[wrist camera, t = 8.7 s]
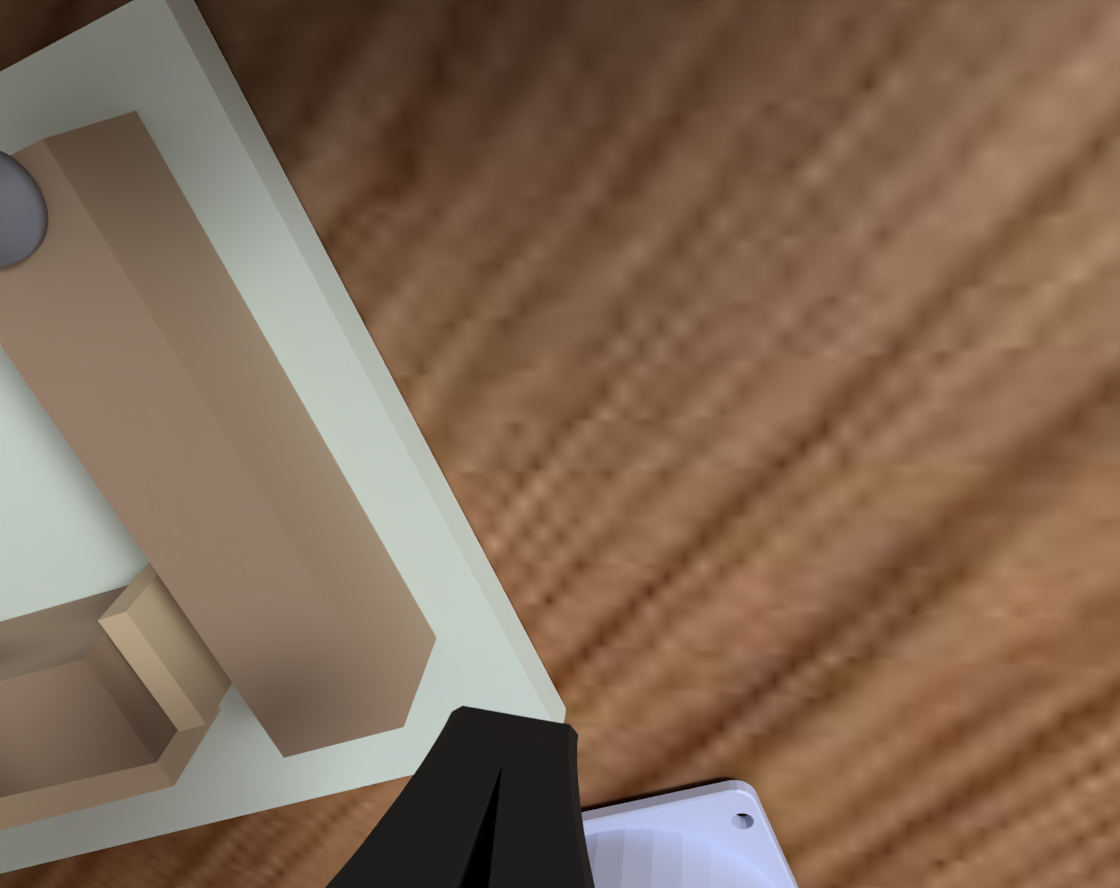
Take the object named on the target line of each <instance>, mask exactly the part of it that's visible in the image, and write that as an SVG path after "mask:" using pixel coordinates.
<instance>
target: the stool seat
mask: <svg viewBox="0 0 1120 888" xmlns="http://www.w3.org/2000/svg"><path fill="white" fill-rule="evenodd" d="M127 585H129V586H128V587H127V588H126V589H125V590H124V591H123V592H122V594H121V595H120V596H119V597H118V598H117V599H116V600H115V602H114V603H113V604H112V605H111V606H110V607H109V608H108V610H107V611H106V612H105V613H104V614H103V615H102V616H101V618H100V619H99V620H98V622H99V623H100V624H101V626H102V627H103V628H104V630H105V631H106V633H107V634H108V635H109V637H110V638H111V639H112V641H113V642H114V644H115V645H116V646H117V648H118V649H119V650H120V652H121V653H122V654H123V656H124V657H125V659H126V660H127V661H128V663H129V664H130V665H131V667H132V668H133V670H134V671H135V672H136V674H137V675H138V676H139V678H140V679H141V680H142V682H143V683H144V685H145V686H146V687H147V689H148V690H149V691H150V693H151V694H152V696H153V697H154V698H155V700H156V701H157V702H158V704H159V705H160V706H161V708H162V709H163V711H164V712H165V713H166V715H167V716H168V717H169V719H170V720H171V722H172V723H173V724H174V726H175V727H176V728H177V730H178V731H177V732H176V734H175V735H174V737H173V738H172V740H171V741H170V743H169V744H168V746H167V747H166V749H165V750H164V752H163V753H162V755H161V756H160V758H159V760H158V761H157V763H152V764H148V765H144V766H139V767H135V768H130V769H126V770H121V771H117V772H112V773H108V774H103V775H99V776H94V777H90V778H86V779H81V780H77V781H72V782H68V783H63V784H59V785H54V786H50V787H45V788H41V789H36V790H32V791H28V792H23V793H19V794H14V795H10V796H5V797H1V798H0V874H1V873H5V872H9V871H14V870H18V869H22V868H26V867H30V866H34V865H38V864H43V863H47V862H51V861H55V860H59V859H63V858H68V857H72V856H76V855H80V854H84V853H88V852H93V851H97V850H101V849H105V848H109V847H113V846H118V845H122V844H126V843H130V842H134V841H138V840H142V839H147V838H151V837H155V836H159V835H163V834H167V833H172V832H176V831H180V830H184V829H188V828H192V827H197V826H201V825H205V824H209V823H213V822H217V821H221V820H226V819H230V818H234V817H238V816H242V815H246V814H251V813H255V812H259V811H263V810H267V809H271V808H276V807H280V806H284V805H288V804H292V803H296V802H301V801H305V800H309V799H313V798H317V797H321V796H325V795H330V794H334V793H338V792H342V791H346V790H350V789H355V788H359V787H363V786H367V785H371V784H375V783H380V782H384V781H388V780H392V779H396V778H400V777H404V776H409V775H413V774H415V772H416V771H417V769H418V768H419V766H420V765H421V763H422V762H423V760H424V759H425V757H426V756H427V754H428V752H429V751H430V749H431V748H432V746H433V744H434V743H435V741H436V739H437V738H438V736H439V734H440V733H441V731H442V729H443V727H444V726H445V724H446V722H447V720H448V718H449V716H450V714H451V712H452V711H454V710H456V709H457V708H459V707H461V706H468V707H473V708H479V709H485V710H490V711H496V712H502V713H507V714H513V715H519V716H524V717H530V718H536V719H541V720H547V721H553V722H558V723H564V718H565V712H566V708H565V706H564V704H563V702H562V700H561V698H560V697H559V695H558V693H557V691H556V689H555V687H554V685H553V683H552V681H551V679H550V678H549V676H548V674H547V672H546V670H545V668H544V666H543V664H542V662H541V660H540V658H539V657H538V655H537V653H536V651H535V649H534V647H533V645H532V643H531V641H530V639H529V638H528V636H527V634H526V632H525V630H524V628H523V626H522V624H521V622H520V620H519V618H518V617H517V615H516V613H515V611H514V609H513V607H512V605H511V603H510V601H509V599H508V598H507V596H506V594H505V592H504V590H503V588H502V586H501V584H500V582H499V580H498V578H497V577H496V575H495V573H494V571H493V569H492V567H491V565H490V563H489V561H488V559H487V558H486V556H485V554H484V552H483V550H482V548H481V546H480V544H479V542H478V540H477V538H476V537H475V535H474V533H473V531H472V529H471V527H470V525H469V523H468V521H467V519H466V518H465V516H464V514H463V512H462V510H461V508H460V506H459V504H458V502H457V500H456V498H455V497H454V495H453V493H452V491H451V489H450V487H449V485H448V483H447V481H446V479H445V478H444V476H443V474H442V472H441V470H440V468H439V466H438V464H437V462H436V460H435V458H434V457H433V455H432V453H431V451H430V449H429V447H428V445H427V443H426V441H425V439H424V438H423V436H422V434H421V432H420V430H419V428H418V426H417V424H416V422H415V420H414V418H413V417H412V415H411V413H410V411H409V409H408V407H407V405H406V403H405V401H404V399H403V398H402V396H401V394H400V392H399V390H398V388H397V386H396V384H395V382H394V380H393V378H392V377H391V375H390V373H389V371H388V369H387V367H386V365H385V363H384V361H383V359H382V358H381V356H380V354H379V352H378V350H377V348H376V346H375V344H374V342H373V340H372V338H371V337H370V335H369V333H368V331H367V329H366V327H365V325H364V323H363V321H362V319H361V318H360V316H359V314H358V312H357V310H356V308H355V306H354V304H353V302H352V300H351V298H350V297H349V295H348V293H347V291H346V289H345V287H344V285H343V283H342V281H341V279H340V278H339V276H338V274H337V272H336V270H335V268H334V266H333V264H332V262H331V260H330V258H329V257H328V255H327V253H326V251H325V249H324V247H323V245H322V243H321V241H320V239H319V238H318V236H317V234H316V232H315V230H314V228H313V226H312V224H311V222H310V220H309V218H308V217H307V215H306V213H305V211H304V209H303V207H302V205H301V203H300V201H299V199H298V198H297V196H296V194H295V192H294V190H293V188H292V186H291V184H290V182H289V180H288V178H287V177H286V175H285V173H284V171H283V169H282V167H281V165H280V163H279V161H278V159H277V158H276V156H275V154H274V152H273V150H272V148H271V146H270V144H269V142H268V140H267V138H266V137H265V135H264V133H263V131H262V129H261V127H260V125H259V123H258V121H257V119H256V118H255V116H254V114H253V112H252V110H251V108H250V106H249V104H248V102H247V100H246V98H245V97H244V95H243V93H242V91H241V89H240V87H239V85H238V83H237V81H236V79H235V78H234V76H233V74H232V72H231V70H230V68H229V66H228V64H227V62H226V60H225V58H224V57H223V55H222V53H221V51H220V49H219V47H218V45H217V43H216V41H215V39H214V38H213V36H212V34H211V32H210V30H209V28H208V26H207V24H206V22H205V20H204V18H203V17H202V15H201V13H200V11H199V9H198V7H197V5H196V3H195V1H194V0H133V1H131V2H129V3H127V4H125V5H124V6H122V7H120V8H118V9H116V10H114V11H112V12H111V13H109V14H107V15H105V16H103V17H101V18H99V19H97V20H96V21H94V22H92V23H90V24H88V25H86V26H84V27H83V28H81V29H79V30H77V31H75V32H73V33H71V34H70V35H68V36H66V37H64V38H62V39H60V40H58V41H56V42H55V43H53V44H51V45H49V46H47V47H45V48H43V49H42V50H40V51H38V52H36V53H34V54H32V55H30V56H29V57H27V58H25V59H23V60H21V61H19V62H17V63H16V64H14V65H12V66H10V67H8V68H6V69H4V70H2V71H1V72H0V621H4V620H7V619H11V618H15V617H18V616H22V615H25V614H29V613H32V612H36V611H39V610H43V609H46V608H50V607H53V606H57V605H60V604H64V603H67V602H71V601H74V600H78V599H81V598H85V597H88V596H92V595H96V594H99V593H103V592H106V591H110V590H113V589H117V588H120V587H124V586H127Z"/></svg>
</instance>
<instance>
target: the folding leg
mask: <svg viewBox="0 0 1120 888" xmlns="http://www.w3.org/2000/svg"><path fill="white" fill-rule="evenodd" d="M128 586H129V585H127V586H124V587H120V588H117V589H113V590H110V591H106V592H103V593H99V594H96V595H92V596H88V597H85V598H81V599H78V600H74V601H71V602H67V603H64V604H60V605H57V606H53V607H50V608H46V609H43V610H39V611H36V612H32V613H29V614H25V615H22V616H18V617H15V618H11V619H7V620H4V621H0V798H1V797H5V796H10V795H14V794H19V793H23V792H28V791H32V790H36V789H41V788H45V787H50V786H54V785H59V784H63V783H68V782H72V781H77V780H81V779H86V778H90V777H94V776H99V775H103V774H108V773H112V772H117V771H121V770H126V769H130V768H135V767H139V766H144V765H148V764H152V763H157V761H158V760H159V758H160V756H161V755H162V753H163V752H164V750H165V749H166V747H167V746H168V744H169V743H170V741H171V740H172V738H173V737H174V735H175V734H176V732H177V731H178V730H177V728H176V727H175V726H174V724H173V723H172V722H171V720H170V719H169V717H168V716H167V715H166V713H165V712H164V711H163V709H162V708H161V706H160V705H159V704H158V702H157V701H156V700H155V698H154V697H153V696H152V694H151V693H150V691H149V690H148V689H147V687H146V686H145V685H144V683H143V682H142V680H141V679H140V678H139V676H138V675H137V674H136V672H135V671H134V670H133V668H132V667H131V665H130V664H129V663H128V661H127V660H126V659H125V657H124V656H123V654H122V653H121V652H120V650H119V649H118V648H117V646H116V645H115V644H114V642H113V641H112V639H111V638H110V637H109V635H108V634H107V633H106V631H105V630H104V628H103V627H102V626H101V624H100V623H99V622H98V620H99V619H100V618H101V616H102V615H103V614H104V613H105V612H106V611H107V610H108V608H109V607H110V606H111V605H112V604H113V603H114V602H115V600H116V599H117V598H118V597H119V596H120V595H121V594H122V592H123V591H124V590H125V589H126V588H127V587H128Z"/></svg>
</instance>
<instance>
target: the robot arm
mask: <svg viewBox="0 0 1120 888" xmlns="http://www.w3.org/2000/svg"><path fill="white" fill-rule="evenodd" d="M577 740H578V734H577V733H576V731H575V730H574V729H573V728H572V727H571V725H570V724H564V723H558V722H553V721H547V720H541V719H536V718H530V717H524V716H519V715H513V714H507V713H502V712H496V711H490V710H485V709H479V708H473V707H468V706H461V707H459V708H457V709H456V710H454V711H452V712H451V714H450V716H449V718H448V720H447V722H446V724H445V726H444V727H443V729H442V731H441V733H440V734H439V736H438V738H437V739H436V741H435V743H434V744H433V746H432V748H431V749H430V751H429V752H428V754H427V756H426V757H425V759H424V760H423V762H422V763H421V765H420V766H419V768H418V769H417V771H416V772H415V774H414V775H413V776H412V778H411V779H410V781H409V782H408V784H407V785H406V786H405V788H404V789H403V791H402V792H401V794H400V795H399V796H398V798H397V799H396V800H395V802H394V803H393V804H392V806H391V807H390V808H389V810H388V811H387V812H386V813H385V815H384V816H383V817H382V819H381V820H380V821H379V823H378V824H377V825H376V827H375V828H374V829H373V830H372V832H371V833H370V834H369V836H368V837H367V838H366V840H365V841H364V842H363V844H362V845H361V846H360V847H359V849H358V850H357V851H356V852H355V854H354V855H353V856H352V857H351V858H350V860H349V861H348V862H347V863H346V864H345V865H344V867H343V868H342V869H341V870H340V871H339V872H338V874H337V875H336V876H335V877H334V878H333V879H332V881H331V882H330V883H329V884H328V885H327V886H326V887H325V888H798V885H797V883H796V881H795V879H794V876H793V874H792V872H791V870H790V867H789V865H788V863H787V861H786V858H785V856H784V854H783V852H782V850H781V847H780V845H779V843H778V841H777V838H776V836H775V834H774V832H773V829H772V827H771V825H770V823H769V820H768V818H767V816H766V814H765V812H764V809H763V807H762V805H761V803H760V800H759V798H758V796H757V794H756V791H755V790H754V789H753V787H752V786H751V785H749V784H747V783H746V782H743V781H739V780H729V781H724V782H720V783H715V784H710V785H706V786H701V787H697V788H692V789H687V790H683V791H678V792H673V793H669V794H664V795H660V796H655V797H650V798H646V799H641V800H637V801H632V802H627V803H623V804H618V805H613V806H609V807H604V808H600V809H595V810H590V811H586V812H581V805H580V797H579V786H578V772H577ZM739 813H745V814H748V815H747V816H738V815H737V814H739Z"/></svg>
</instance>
